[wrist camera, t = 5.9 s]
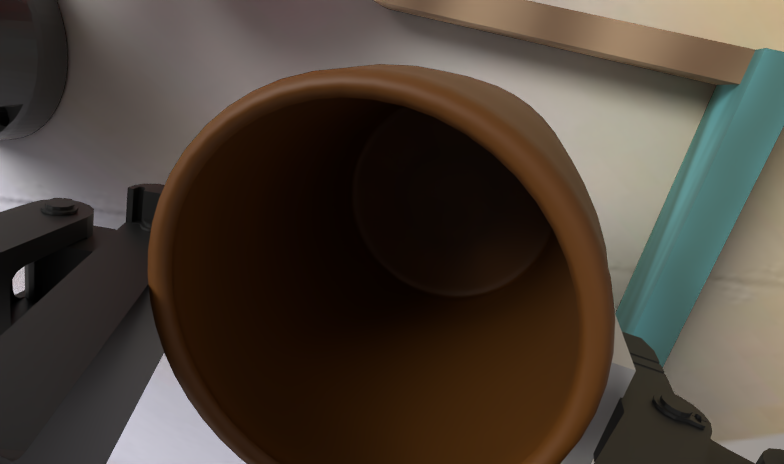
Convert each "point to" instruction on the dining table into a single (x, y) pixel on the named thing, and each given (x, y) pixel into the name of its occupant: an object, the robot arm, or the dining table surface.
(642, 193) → the dining table surface
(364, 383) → the mug
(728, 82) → the u-shaped wooden frame
